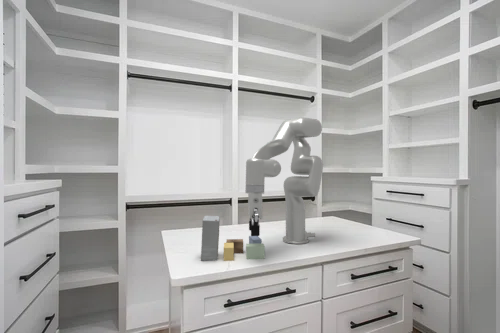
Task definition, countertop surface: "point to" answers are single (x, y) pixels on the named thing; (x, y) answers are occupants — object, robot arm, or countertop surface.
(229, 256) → the ochre brick
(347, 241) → the countertop surface
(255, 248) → the sage brick
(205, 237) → the skincare box
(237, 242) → the walnut brick
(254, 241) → the slate brick
